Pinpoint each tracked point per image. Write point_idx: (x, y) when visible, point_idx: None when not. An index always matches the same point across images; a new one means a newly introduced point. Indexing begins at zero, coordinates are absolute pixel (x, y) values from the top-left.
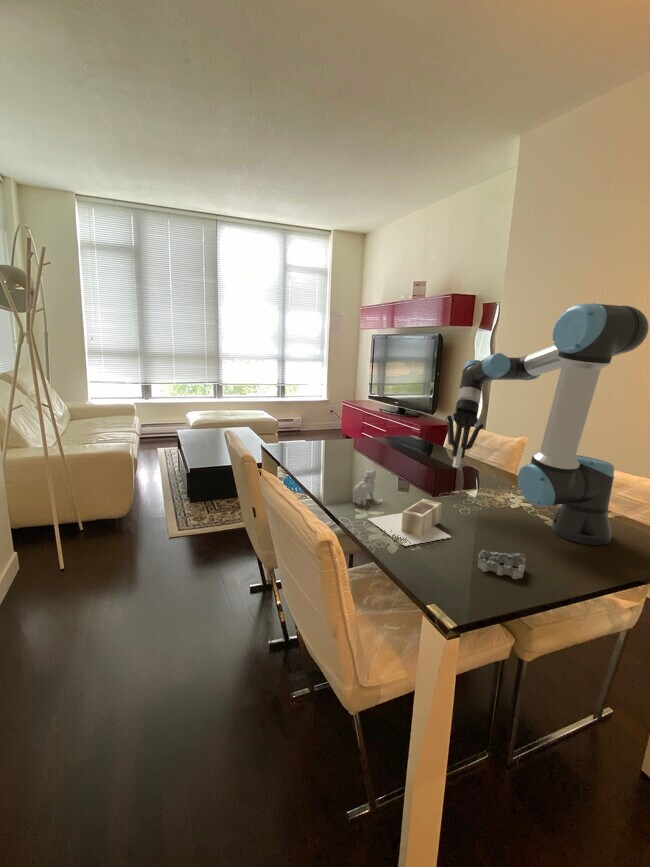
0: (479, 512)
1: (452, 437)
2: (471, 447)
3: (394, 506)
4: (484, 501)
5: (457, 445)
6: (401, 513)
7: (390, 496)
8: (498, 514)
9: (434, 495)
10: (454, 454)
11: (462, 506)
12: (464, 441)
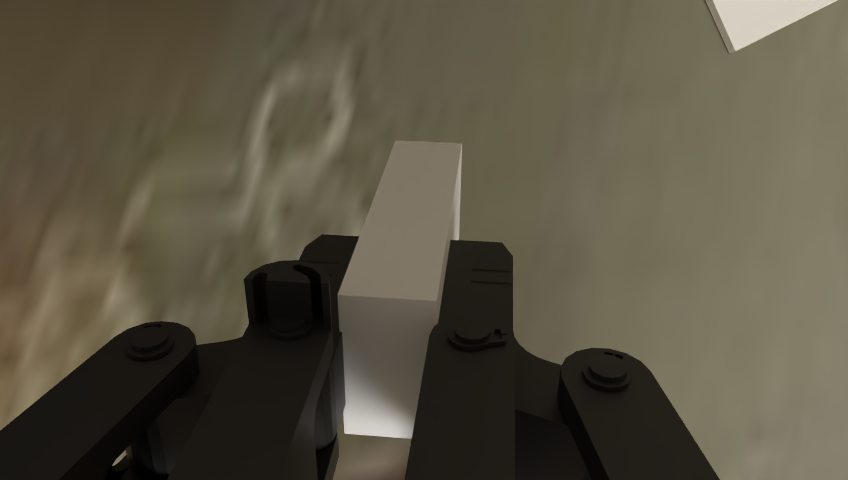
0: (181, 104)
1: (640, 450)
2: (126, 330)
3: (818, 180)
4: (46, 377)
5: (463, 325)
6: (799, 10)
7: (821, 399)
8: (26, 70)
9: None
10: (486, 253)
11: (288, 230)
12: (285, 411)
